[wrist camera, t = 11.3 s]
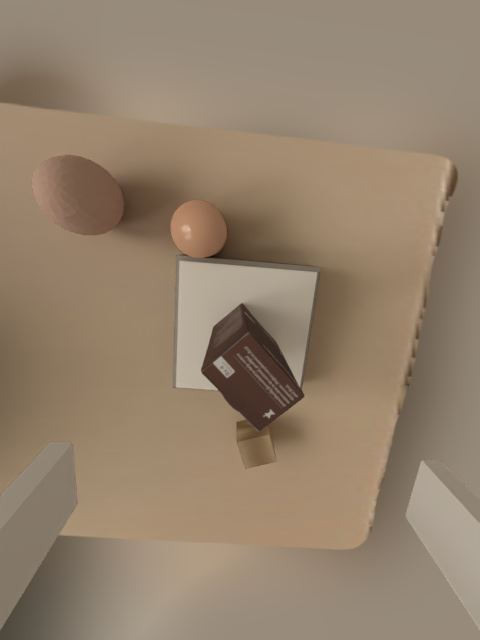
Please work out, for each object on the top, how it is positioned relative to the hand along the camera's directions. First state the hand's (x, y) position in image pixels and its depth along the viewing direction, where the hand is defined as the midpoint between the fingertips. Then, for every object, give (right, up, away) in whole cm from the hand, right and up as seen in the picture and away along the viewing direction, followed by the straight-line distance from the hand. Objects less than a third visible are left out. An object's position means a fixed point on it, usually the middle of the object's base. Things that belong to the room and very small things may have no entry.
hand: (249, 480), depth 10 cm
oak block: (+2, -9, +26) cm, 28 cm away
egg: (-15, +19, +19) cm, 31 cm away
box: (0, +5, +19) cm, 19 cm away
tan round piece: (-4, +16, +20) cm, 26 cm away
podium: (0, +6, +23) cm, 23 cm away
